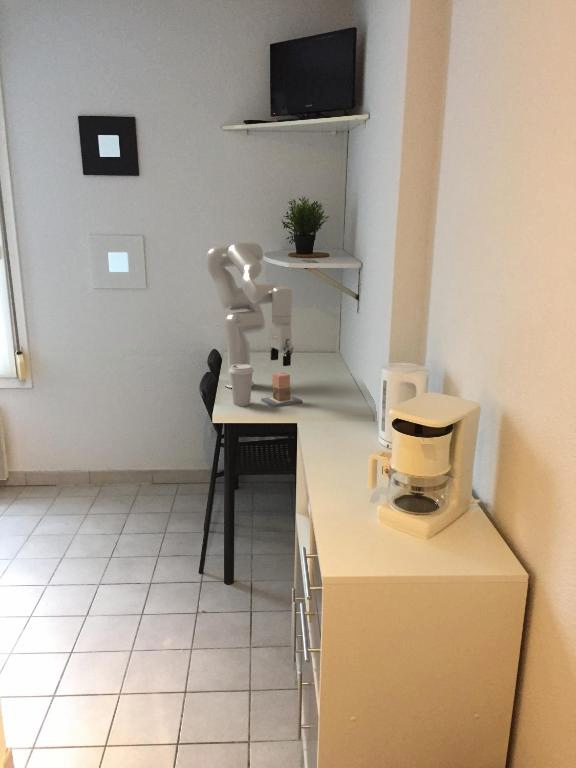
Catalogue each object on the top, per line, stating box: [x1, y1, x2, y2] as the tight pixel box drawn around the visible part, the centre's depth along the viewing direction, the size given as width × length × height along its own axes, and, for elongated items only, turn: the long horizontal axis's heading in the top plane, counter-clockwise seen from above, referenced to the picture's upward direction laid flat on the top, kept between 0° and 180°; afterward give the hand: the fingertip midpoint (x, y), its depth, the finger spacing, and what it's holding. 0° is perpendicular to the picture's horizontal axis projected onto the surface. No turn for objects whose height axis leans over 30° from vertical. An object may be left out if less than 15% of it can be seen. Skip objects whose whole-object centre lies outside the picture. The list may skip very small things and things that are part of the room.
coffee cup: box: [229, 364, 254, 407], centre depth 253 cm, size 10×10×15 cm
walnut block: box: [272, 386, 291, 401], centre depth 257 cm, size 5×5×5 cm
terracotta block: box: [272, 371, 291, 389], centre depth 255 cm, size 5×5×5 cm
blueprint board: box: [260, 393, 303, 408], centre depth 257 cm, size 10×13×1 cm
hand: (280, 362), depth 254 cm, fingers open, 9 cm apart
